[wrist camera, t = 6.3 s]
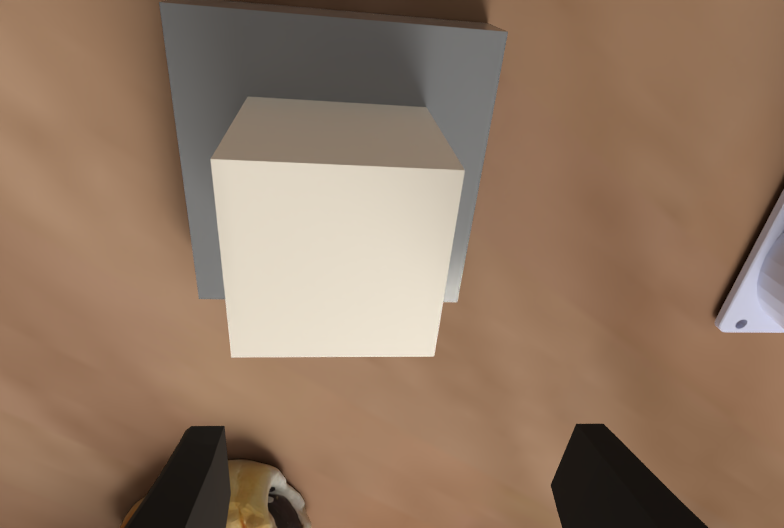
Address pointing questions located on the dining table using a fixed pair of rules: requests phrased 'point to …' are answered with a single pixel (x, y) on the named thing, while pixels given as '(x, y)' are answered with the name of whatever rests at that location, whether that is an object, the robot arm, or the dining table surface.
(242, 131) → the ivory cube
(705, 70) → the dining table surface
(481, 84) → the slate stand
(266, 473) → the pastry
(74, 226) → the dining table surface
